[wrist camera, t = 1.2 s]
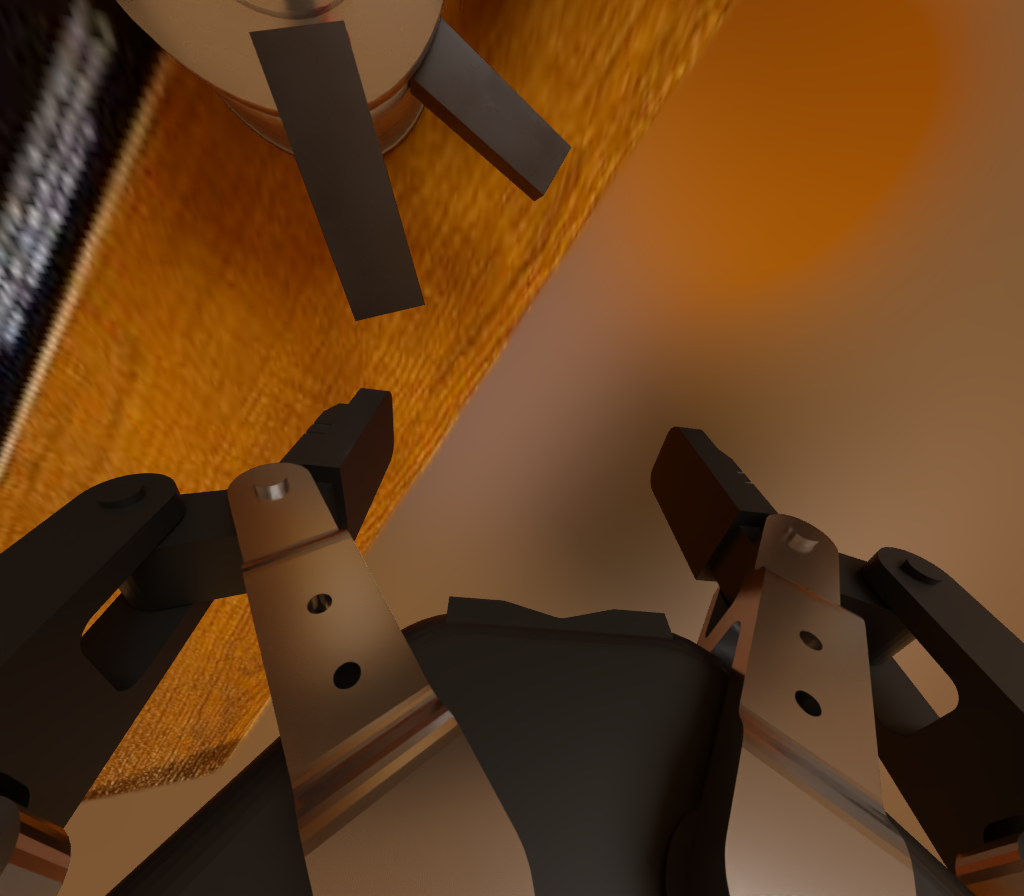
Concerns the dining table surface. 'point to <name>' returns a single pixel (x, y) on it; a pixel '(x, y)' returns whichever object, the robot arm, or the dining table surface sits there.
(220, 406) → the dining table surface
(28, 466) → the dining table surface
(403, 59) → the lid
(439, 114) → the pot
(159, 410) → the dining table surface
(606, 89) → the dining table surface
